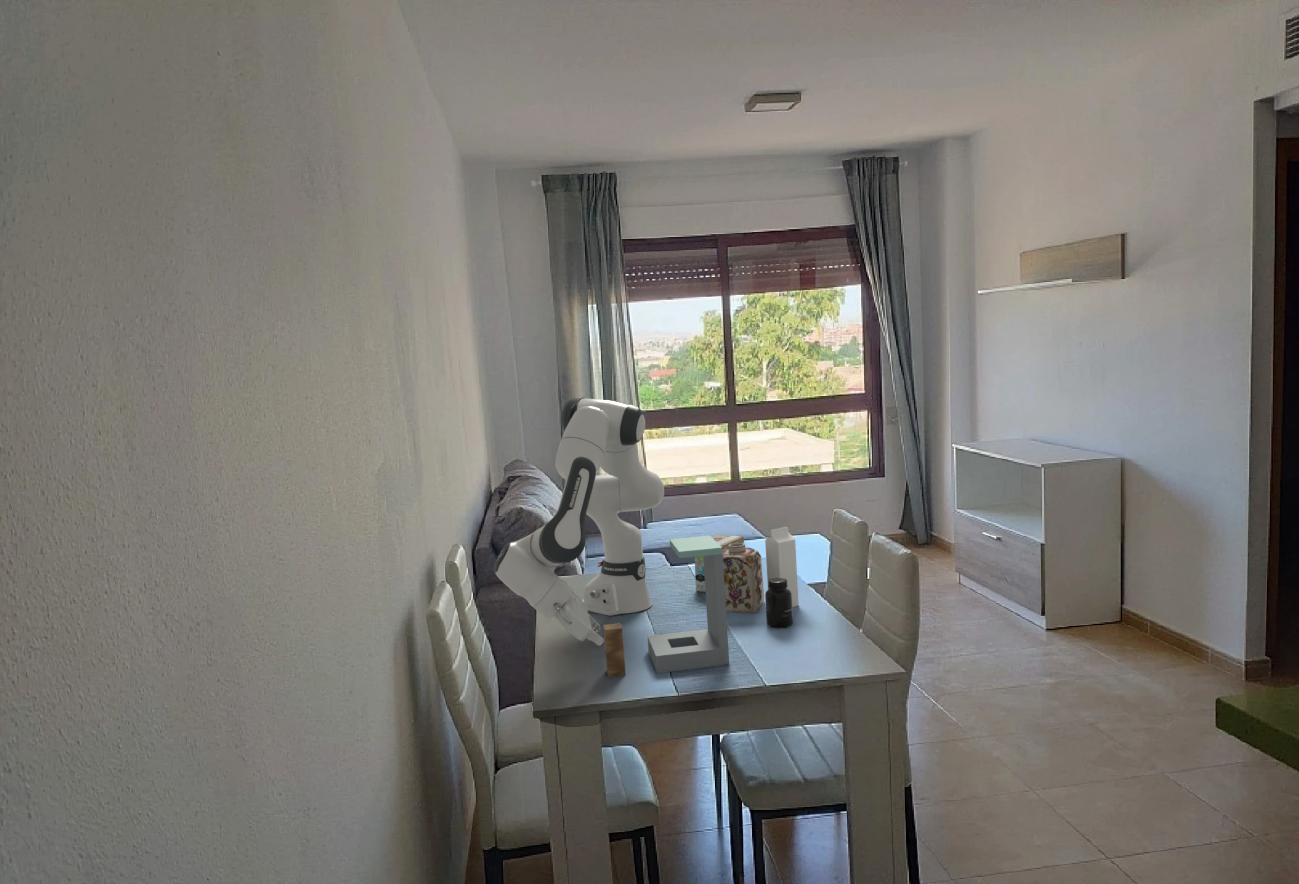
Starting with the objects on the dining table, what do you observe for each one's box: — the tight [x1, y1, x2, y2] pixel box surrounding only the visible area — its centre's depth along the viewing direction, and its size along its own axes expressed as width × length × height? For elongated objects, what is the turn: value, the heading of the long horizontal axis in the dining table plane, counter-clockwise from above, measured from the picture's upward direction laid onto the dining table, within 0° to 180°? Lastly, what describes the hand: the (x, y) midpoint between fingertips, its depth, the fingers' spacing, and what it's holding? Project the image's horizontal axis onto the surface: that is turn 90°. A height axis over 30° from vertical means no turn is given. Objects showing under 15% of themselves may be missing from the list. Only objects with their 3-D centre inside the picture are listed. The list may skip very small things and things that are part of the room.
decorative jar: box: [722, 542, 765, 614], centre depth 247 cm, size 12×12×18 cm
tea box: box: [694, 534, 745, 593], centre depth 269 cm, size 15×10×15 cm, turn 148°
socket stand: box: [647, 535, 730, 674], centre depth 208 cm, size 17×15×28 cm
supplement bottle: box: [764, 578, 794, 629], centre depth 229 cm, size 7×7×12 cm
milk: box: [764, 526, 800, 608], centre depth 245 cm, size 6×6×22 cm
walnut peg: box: [602, 622, 626, 678], centre depth 202 cm, size 4×4×11 cm
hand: (600, 636), depth 202 cm, fingers open, 8 cm apart
